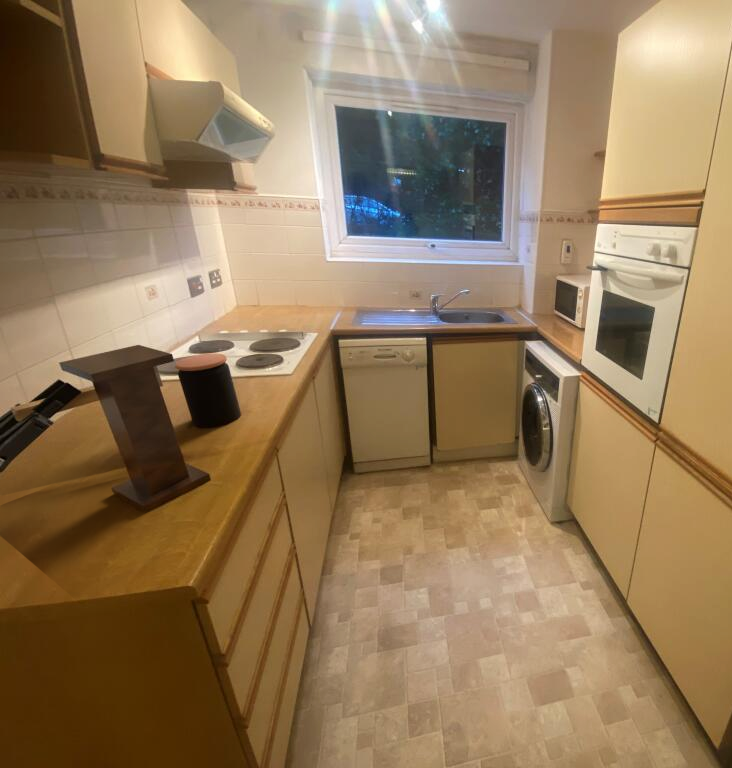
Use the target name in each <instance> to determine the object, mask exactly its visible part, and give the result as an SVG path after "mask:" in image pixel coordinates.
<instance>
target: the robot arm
mask: <svg viewBox="0 0 732 768" xmlns="http://www.w3.org/2000/svg"><path fill="white" fill-rule="evenodd" d="M80 393H81V391H80V390H79V389H78V388H77V387H76V386H74V385H72V383H71V384H70V383H69V382H65V381H63V380H61V379H59V378H58V379H57V380H56V381H54V382H53V383H52V384H50V385H49V386H48V387H47V388H45V389H44V390H43V391H41V392H40V393H39V394H38V395H36V396H35V397H34V398H33V399H31V400H30V401H29V402H28V403H30V402H34V401H38V400H41V399H45V398H46V399H45V400H43V401H42V402H41V403H40V404H38V405H37V406H36V407H35V408H33V409H32V410H34V411H36V412H33V413H31V414H30V415H28V416H27V417H26V418H24V419H23V420H22V421H20V422H19V421H17V420H16V419H15V417H14V415H13V413H12V411H11V409H10V410H8V411H7V412H6V413H4V414H2V415H1V416H0V474H2V473H3V472H4V471H5V470H6V469H7V467H9V465H10V464H11V463H12V461H14V460H15V459H16V458H17V457H18V456H19V455H21V453H23V452H24V451H25V450H26V449H27V448H28V447H29V446H30V445H31V444H32V443H33V442H35V441H36V440H37V439H38V438H39V437H40V436H41V435H42V434H43V433H45V432H46V431H47V430H48V429H49V428H50V427H51V426H53V425H54V421H53V420H51V419H52V417H53V416H55V415H56V414H57V412H58V411H60V410H61V409H62V408H63V407H64V406H66V405H67V404H68V403H69V402H70V401H72V400H73V399H74V398H75V397H76V396H78V395H79V394H80ZM19 405H22V404H21V403H17V404H15V405H14V407H15V406H19ZM58 413H59V412H58Z"/></svg>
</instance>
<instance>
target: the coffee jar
mask: <svg viewBox="0 0 732 768" xmlns="http://www.w3.org/2000/svg"><path fill="white" fill-rule="evenodd" d="M227 360H228V359H227V356H226V355H225V354H223V353H218V352H217V353H216V352H215V353H213V352H212V353H211V352H210V353H201V354H195V355H190V356H187V357H184V358H180V359H179V360H177V361H176V362H175V363H174V366H175V368H176V370H178V372H177V376H178V379H179V382H180V385H181V389H182V392H183V396H184V398H185V401H186V405H187V408H188V411H189V415H190V418H191V421H192V425H193V426H194V427H195V428H197V429H214V428H215V429H216V428H219V427H224V426H227V425H230V424H232V423H234V422H236V421H238V420H239V419H240V418H241V416H242V412H241V409H240V403H239V400H238V395H237V393H236V389H235V385H234V381H233V377H232V373H231V370H230V366H229V363H227Z"/></svg>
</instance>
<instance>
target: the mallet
mask: <svg viewBox="0 0 732 768" xmlns="http://www.w3.org/2000/svg"><path fill="white" fill-rule="evenodd" d="M153 368H154V371H155V374H156V377H157V380H158V383H159V386H160V388H162V387H164V384H163V381H162V378H161V375H160V372H159V369H158V366H155V367H153ZM78 390H80V391H81V393H80V394H79V395H78V396H76V397H75V398H74V399H73V400H72V401H70V402H69V403H68V404H67V405H66V406H64V407H63V408H62V409H61V410H60V411H58V412H57V413H61V412H64V411H68V410H71V409H75V408H78V407H82V406H86V405H88V404H92V403H96V402H98V401H99V398H98V396H97V393H96V391H95V388H94V385H90V386H85V387H82V388H79V389H78ZM45 399H46V398H45ZM45 399H41V400H38V401H34V402H30V401H29V402H30V403H29V402H26V403H22V404H21V405H19V406H15V405H14V406H12V407H10V410H11V411H12V413H13V415H14V417H15V419H16V420H17V421H19V422H20V421H22V420H23V419H24V418H26V417H27V416H28V415H30V414H31V413H33V412H36V411H34V410H32V409H33V408H35V407H36V406H37V405H38V404H40V403H41V402H42V401H43V400H45ZM99 402H100V401H99ZM57 413H56V414H57Z"/></svg>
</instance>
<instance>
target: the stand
mask: <svg viewBox="0 0 732 768" xmlns="http://www.w3.org/2000/svg"><path fill="white" fill-rule="evenodd" d="M173 362H175V359H174V356H173V353H170V352H166V351H162V350H159V349H155V348H152V347H149V346H145V345H142V344H135V345H130V346H126V347H122V348H118V349H117V348H116V349H113V350H109V351H104V352H100V353H96V354H91V355H87V356H86V355H85V356H82V357H78V358H73V359H69V360H65V361H64V360H63V361H60V362H58V363H59V364H58V365H59V366H60V368H61V371H63V372H65V373H68V374H71V375H74V376H75V377H79V378H81V379H84V380H87V381H89V382H92V386H94V388H95V391H96V393H97V396H98V398H99V404H100V405H101V408H102V410H103V413H104V416H105V418H106V421H107V423H108V426H109V428H110V431H111V433H112V436H113V438H114V441H115V444H116V446H117V449H118V451H119V454H120V456H121V459H122V462H123V464H124V466H125V469H126V472H127V474H128V477H129V480H127V481H124V482H122V483H119V484H118V485H115V486H113V487H111V490H112V493H113V495H115V496H116V497H119V498H120V499H122V500H124V501H125V502H127V503H129V504H130V505H132V506H134V507H135V508H137V509H139V510H141V511H142V512H144V513H147V512H150V511H151V510H153V509H155V508H157V507H160V506H162V505H163V504H165V503H167V502H169V501H172V500H173V499H175V498H178V497H179V496H181V495H183V494H185V493H187V492H189V491H191V490H193V489H195V488H197V487H199V486H201V485H203V484H205V483H207V482H209V481H211V480H212V478H211V475H210V473H209V472H207V471H204V470H202V469H200V468H197V467H195V466H193V465H191V464H189V463H186V461H185V459H184V455H183V452H182V449H181V447H180V443H179V440H178V437H177V434H176V431H175V428H174V426H173V423H172V419H171V417H170V414H169V410H168V407H167V404H166V402H165V398H164V395H163V393H162V389H161V387H160V386H159V383H158V380H157V377H156V374H155V371H154V368H153V367H155V366H157V367H158V366H162V365H167V364H169V363H170V364H171V363H173Z"/></svg>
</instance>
